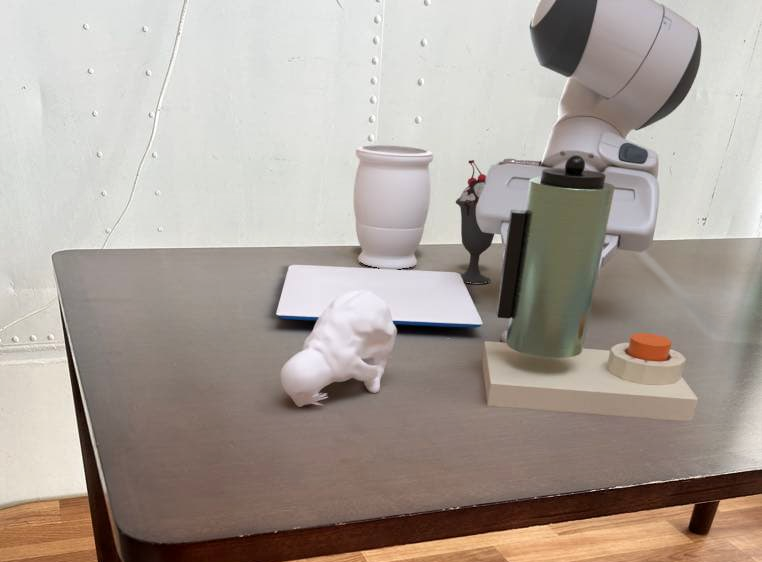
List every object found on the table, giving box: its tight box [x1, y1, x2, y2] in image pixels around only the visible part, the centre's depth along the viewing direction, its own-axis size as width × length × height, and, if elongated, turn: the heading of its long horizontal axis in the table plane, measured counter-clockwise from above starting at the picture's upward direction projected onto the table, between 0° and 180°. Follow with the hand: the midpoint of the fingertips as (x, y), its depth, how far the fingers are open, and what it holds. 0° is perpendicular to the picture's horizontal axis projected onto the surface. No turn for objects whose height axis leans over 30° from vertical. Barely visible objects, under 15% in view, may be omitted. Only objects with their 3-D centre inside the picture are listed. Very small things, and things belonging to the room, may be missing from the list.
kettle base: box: [481, 340, 699, 423], centre depth 76 cm, size 18×12×4 cm, turn 85°
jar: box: [353, 144, 435, 270], centre depth 114 cm, size 11×10×15 cm
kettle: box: [496, 155, 615, 358], centre depth 73 cm, size 8×10×16 cm
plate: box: [275, 264, 484, 328], centre depth 98 cm, size 22×22×2 cm
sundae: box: [455, 159, 495, 283], centre depth 108 cm, size 7×7×15 cm
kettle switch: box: [627, 332, 673, 362], centre depth 75 cm, size 4×4×2 cm
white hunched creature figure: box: [280, 290, 398, 408], centre depth 72 cm, size 6×8×12 cm
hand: (549, 269), depth 92 cm, fingers open, 8 cm apart
